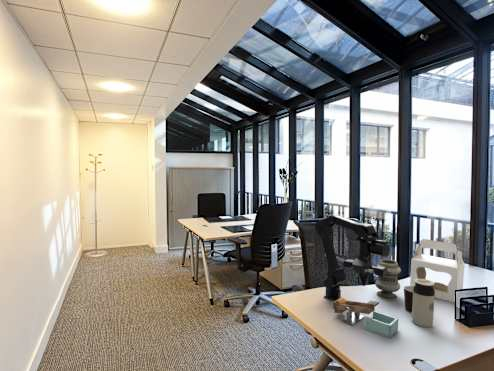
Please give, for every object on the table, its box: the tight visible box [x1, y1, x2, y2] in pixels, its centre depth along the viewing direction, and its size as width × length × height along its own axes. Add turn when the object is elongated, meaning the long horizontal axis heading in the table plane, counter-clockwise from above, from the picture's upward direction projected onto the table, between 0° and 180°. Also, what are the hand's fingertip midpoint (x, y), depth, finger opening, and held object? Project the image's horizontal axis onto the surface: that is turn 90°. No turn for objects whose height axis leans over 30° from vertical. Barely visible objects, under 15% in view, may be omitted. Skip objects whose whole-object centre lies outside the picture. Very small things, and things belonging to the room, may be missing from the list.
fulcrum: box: [341, 307, 365, 327], centre depth 139 cm, size 5×11×6 cm, turn 136°
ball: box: [338, 297, 346, 305], centre depth 142 cm, size 4×4×4 cm
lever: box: [332, 299, 380, 315], centre depth 142 cm, size 16×14×5 cm
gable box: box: [409, 238, 465, 303], centre depth 171 cm, size 22×13×28 cm, turn 45°
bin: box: [364, 310, 399, 339], centre depth 130 cm, size 10×9×5 cm
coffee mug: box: [403, 285, 414, 314], centre depth 150 cm, size 12×9×10 cm
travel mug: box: [411, 279, 435, 328], centre depth 137 cm, size 8×8×18 cm
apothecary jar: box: [374, 258, 402, 300], centre depth 167 cm, size 12×12×18 cm
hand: (363, 285), depth 147 cm, fingers closed
